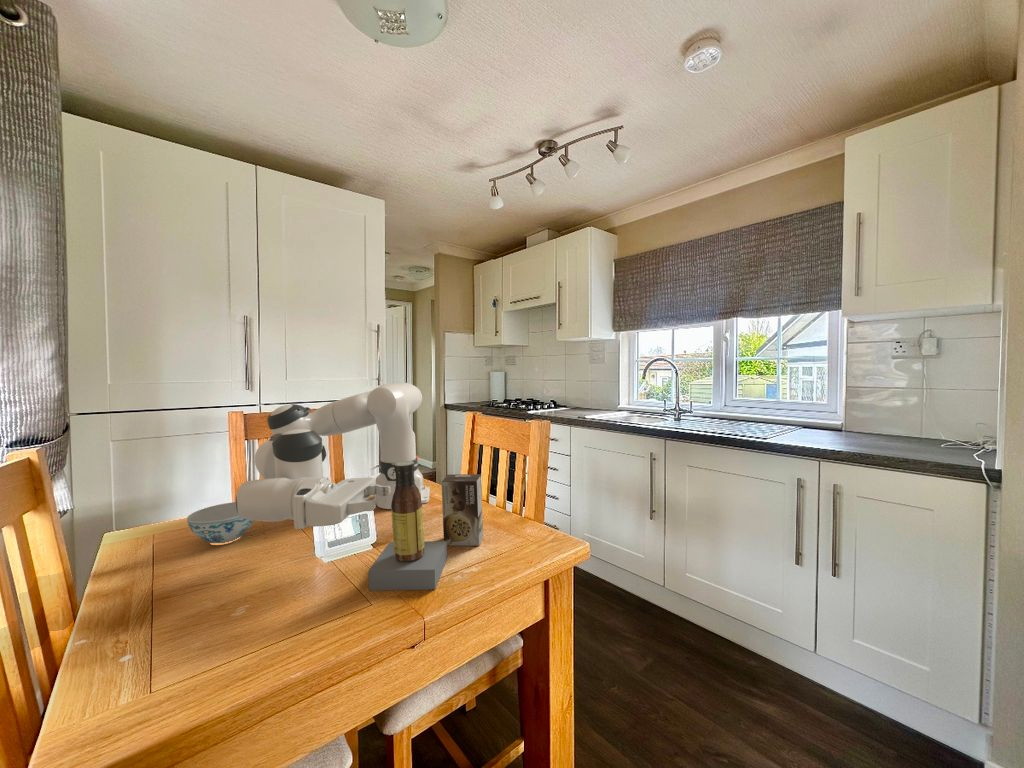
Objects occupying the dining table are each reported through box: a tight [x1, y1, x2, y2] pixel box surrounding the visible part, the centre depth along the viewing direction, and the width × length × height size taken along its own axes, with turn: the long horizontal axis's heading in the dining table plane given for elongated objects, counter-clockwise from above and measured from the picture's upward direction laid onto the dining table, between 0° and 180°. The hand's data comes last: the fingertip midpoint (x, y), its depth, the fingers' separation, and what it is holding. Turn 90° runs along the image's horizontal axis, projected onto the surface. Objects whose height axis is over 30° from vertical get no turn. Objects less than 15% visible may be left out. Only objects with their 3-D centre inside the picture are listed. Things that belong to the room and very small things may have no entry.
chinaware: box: [186, 501, 255, 543], centre depth 104 cm, size 15×15×8 cm
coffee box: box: [440, 473, 484, 547], centre depth 101 cm, size 9×6×16 cm
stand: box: [368, 540, 448, 591], centre depth 85 cm, size 13×13×4 cm
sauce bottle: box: [390, 461, 425, 562], centre depth 84 cm, size 7×6×20 cm
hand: (382, 497), depth 84 cm, fingers open, 8 cm apart
